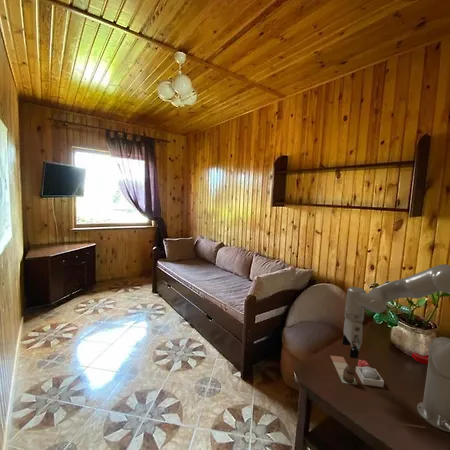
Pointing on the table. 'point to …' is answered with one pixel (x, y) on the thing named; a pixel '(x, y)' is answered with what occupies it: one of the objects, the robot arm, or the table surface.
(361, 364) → the popper base
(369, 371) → the dome
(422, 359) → the decorative ornament
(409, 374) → the table surface
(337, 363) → the game board
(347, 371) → the pawn
